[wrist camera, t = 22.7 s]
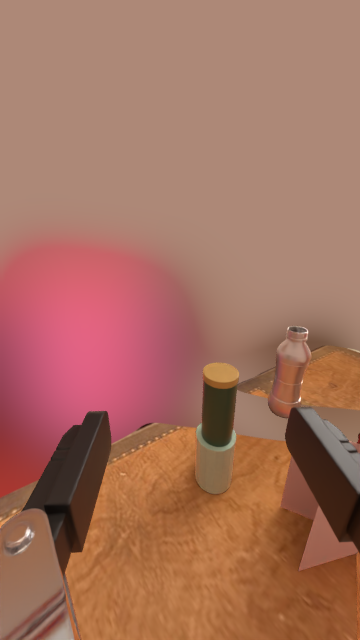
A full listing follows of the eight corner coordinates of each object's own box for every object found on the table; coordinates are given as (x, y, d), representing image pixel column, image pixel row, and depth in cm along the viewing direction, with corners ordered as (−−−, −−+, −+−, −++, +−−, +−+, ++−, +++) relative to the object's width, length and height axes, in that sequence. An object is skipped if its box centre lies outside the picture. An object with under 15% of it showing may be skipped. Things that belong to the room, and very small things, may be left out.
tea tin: (202, 448, 32) (205, 382, 28) (199, 422, 37) (201, 362, 33) (236, 447, 32) (243, 381, 28) (228, 421, 37) (234, 362, 33)
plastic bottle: (260, 407, 53) (272, 327, 46) (280, 398, 55) (294, 321, 49) (283, 426, 47) (301, 339, 40) (305, 415, 50) (324, 332, 43)
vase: (196, 495, 35) (198, 451, 32) (193, 459, 40) (194, 419, 37) (235, 493, 35) (240, 450, 32) (227, 458, 41) (230, 418, 37)
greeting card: (375, 538, 30) (415, 454, 24) (399, 621, 23) (461, 530, 18) (280, 500, 34) (297, 421, 29) (279, 561, 28) (301, 474, 22)
